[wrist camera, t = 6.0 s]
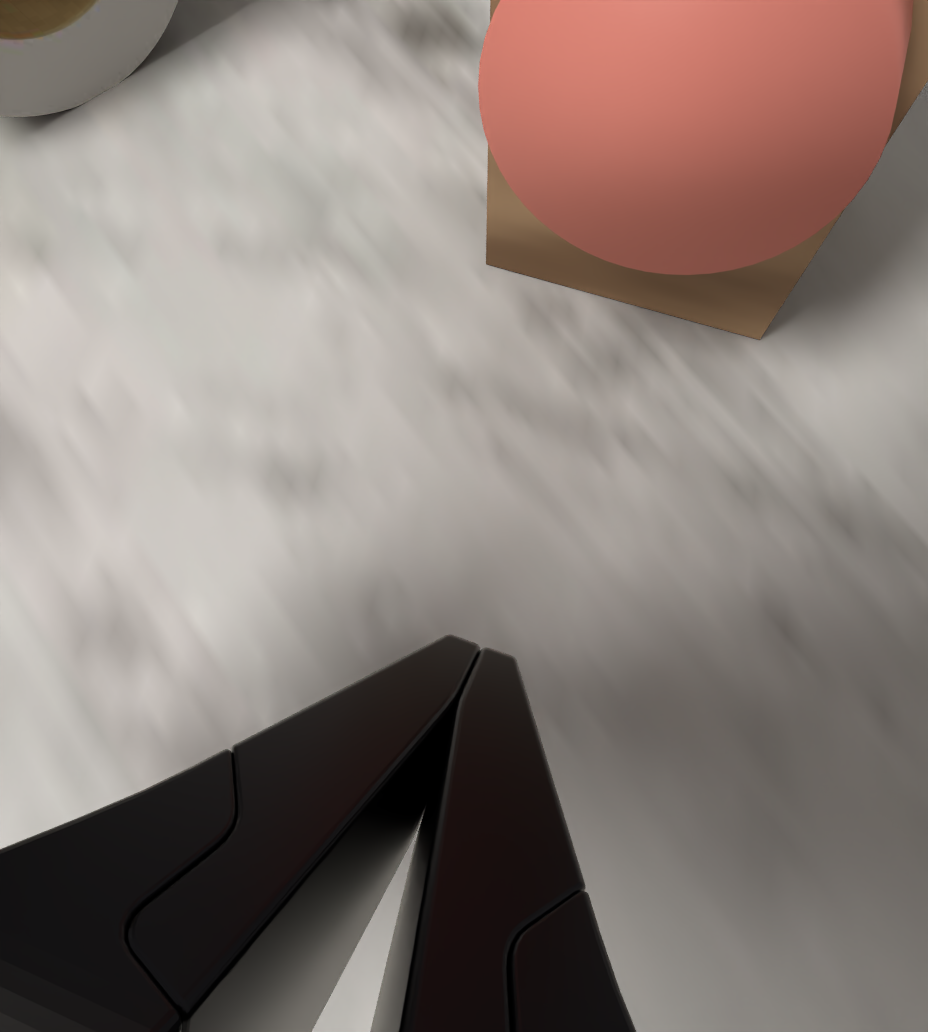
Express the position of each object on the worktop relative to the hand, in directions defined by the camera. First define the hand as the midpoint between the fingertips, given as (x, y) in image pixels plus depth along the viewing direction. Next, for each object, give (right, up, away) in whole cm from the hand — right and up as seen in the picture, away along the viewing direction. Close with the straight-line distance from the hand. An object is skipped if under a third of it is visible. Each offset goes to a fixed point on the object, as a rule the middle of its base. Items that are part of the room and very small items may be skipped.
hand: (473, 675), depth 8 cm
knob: (+4, +10, +6) cm, 13 cm away
